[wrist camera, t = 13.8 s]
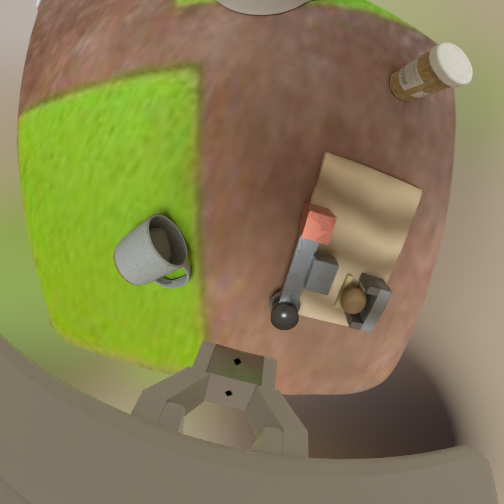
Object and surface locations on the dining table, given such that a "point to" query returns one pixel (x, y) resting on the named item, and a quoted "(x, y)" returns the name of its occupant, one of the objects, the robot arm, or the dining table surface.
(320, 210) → the lever
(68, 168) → the dining table surface
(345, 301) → the brown ball
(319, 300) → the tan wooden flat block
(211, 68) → the dining table surface
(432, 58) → the sprinkles bottle
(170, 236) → the ceramic mug
